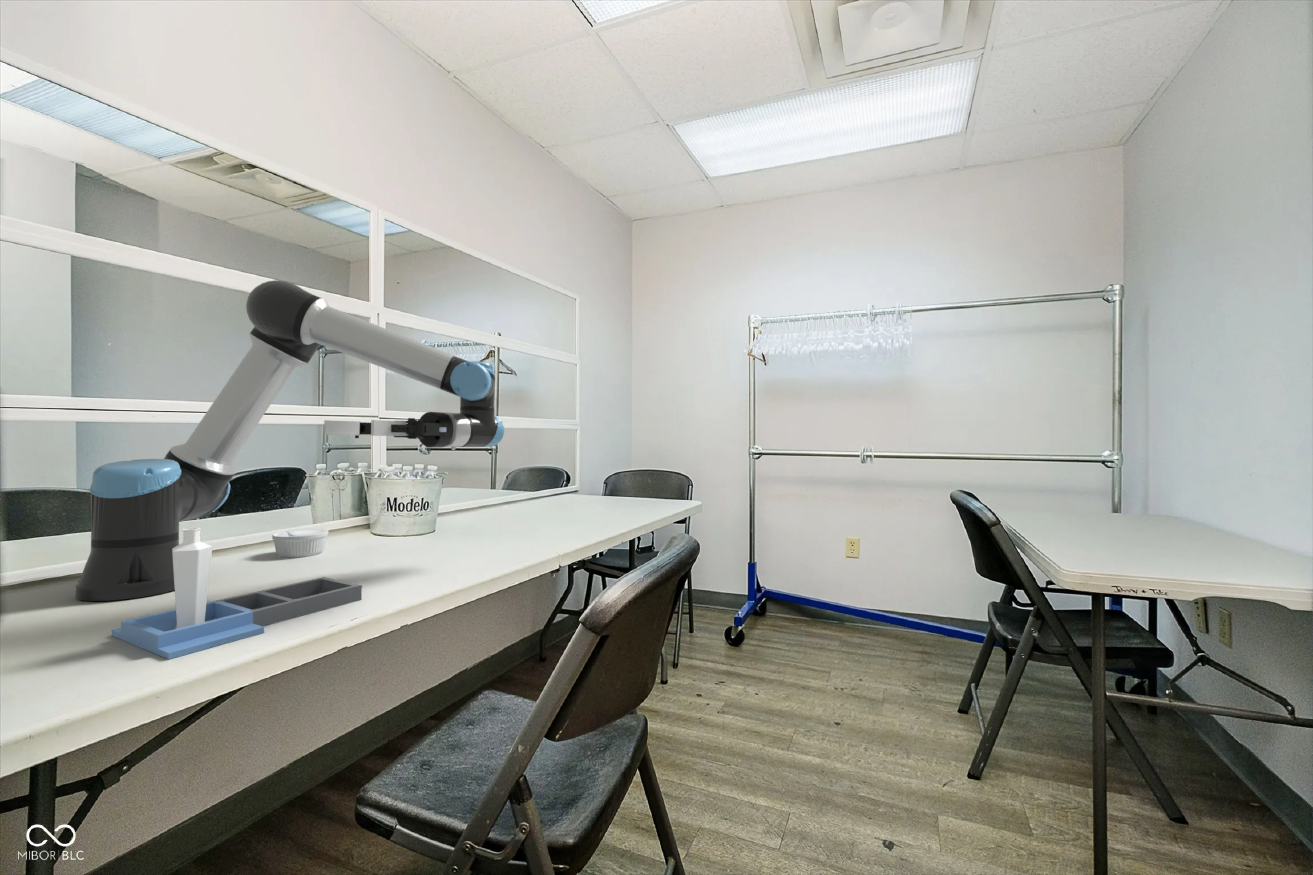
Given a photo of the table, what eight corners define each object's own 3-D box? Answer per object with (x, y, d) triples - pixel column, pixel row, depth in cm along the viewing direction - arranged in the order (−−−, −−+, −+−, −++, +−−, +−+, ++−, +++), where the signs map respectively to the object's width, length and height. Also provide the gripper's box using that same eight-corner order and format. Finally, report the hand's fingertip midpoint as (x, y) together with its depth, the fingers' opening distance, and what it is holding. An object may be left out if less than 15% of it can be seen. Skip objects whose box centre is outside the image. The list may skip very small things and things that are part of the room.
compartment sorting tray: (313, 588, 102) (313, 574, 102) (372, 601, 94) (372, 587, 94) (111, 635, 77) (111, 617, 77) (168, 659, 69) (169, 639, 69)
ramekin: (260, 557, 127) (260, 534, 127) (301, 548, 138) (302, 527, 138) (299, 560, 124) (299, 537, 124) (338, 551, 135) (339, 529, 135)
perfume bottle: (176, 641, 75) (177, 532, 75) (163, 635, 77) (165, 529, 77) (216, 631, 79) (218, 528, 79) (203, 626, 81) (204, 525, 81)
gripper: (485, 448, 112) (393, 450, 93) (403, 446, 124) (307, 447, 105) (486, 411, 112) (394, 406, 93) (404, 413, 124) (307, 408, 105)
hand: (347, 427), depth 99 cm, fingers open, 13 cm apart
